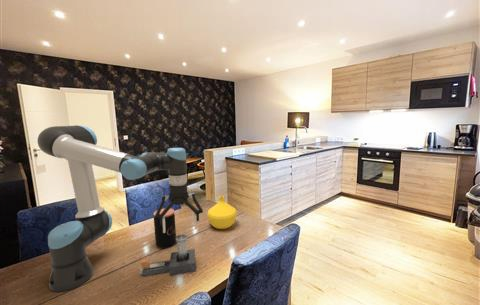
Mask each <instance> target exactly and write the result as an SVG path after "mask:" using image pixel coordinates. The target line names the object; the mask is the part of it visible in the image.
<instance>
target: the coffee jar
mask: <svg viewBox="0 0 480 305" xmlns="http://www.w3.org/2000/svg"><path fill="white" fill-rule="evenodd" d="M165 208H166V207H164V208H162V209H161V211H160V213H159V214H161V213H162V212H163V211H164V209H165ZM156 212H157V210H155V211H154V212H153V214H152V215H153V228H154V238H155V245H156V247H158V248H159V249H168V248H171V247H173V246H174V245H175V244H176V243H177V241H176V236H177V233H176V232H177V228H176V218H175V217H176V215H175V210H174V209H173V208H172V207H171V208H170V209H169V210H168V212H167V213H166V214H165V215H164V216H165V229H166V230H165V233H163V225H160V218H156V217H155V215H156Z"/></svg>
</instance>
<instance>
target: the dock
mask: <svg viewBox="0 0 480 305" xmlns="http://www.w3.org/2000/svg"><path fill="white" fill-rule="evenodd" d="M196 260H197V259H196V250H195V248H193V249H187V261H181V262H178V251H173V252H172V251H171V252H170V260H165V261H159V262H158V261H157V262H153V263H152V262H151V263H150V264H156V263H162V262H165V267H161V268H155V269H149V270H143V271H142V274H141V275H142V277H145V276H152V275H158V274H164V273H169V276H170V277H171V276H177V275H182V274H188V273H193V272H197V262H196Z"/></svg>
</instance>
